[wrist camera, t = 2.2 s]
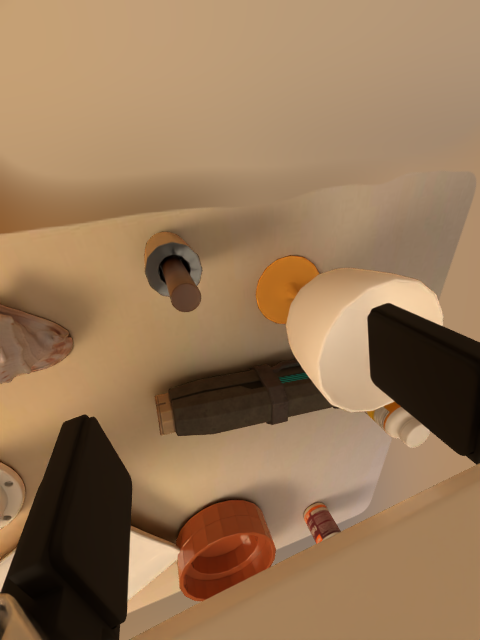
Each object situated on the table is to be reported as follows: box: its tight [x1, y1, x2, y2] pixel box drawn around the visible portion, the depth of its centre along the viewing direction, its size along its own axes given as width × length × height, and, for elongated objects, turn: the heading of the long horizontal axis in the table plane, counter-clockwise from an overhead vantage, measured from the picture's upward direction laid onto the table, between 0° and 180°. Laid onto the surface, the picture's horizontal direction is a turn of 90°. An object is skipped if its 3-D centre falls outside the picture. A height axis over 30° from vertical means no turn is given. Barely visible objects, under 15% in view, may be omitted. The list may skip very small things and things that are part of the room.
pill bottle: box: [304, 503, 341, 544], centre depth 54 cm, size 5×5×8 cm
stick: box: [161, 255, 201, 312], centre depth 25 cm, size 2×2×16 cm
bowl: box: [176, 500, 276, 601], centre depth 49 cm, size 15×15×6 cm
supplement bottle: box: [364, 402, 430, 448], centre depth 46 cm, size 5×5×10 cm
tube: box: [155, 359, 341, 436], centre depth 39 cm, size 11×7×30 cm
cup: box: [256, 255, 444, 412], centre depth 31 cm, size 12×12×17 cm
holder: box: [144, 231, 202, 297], centre depth 29 cm, size 4×4×9 cm
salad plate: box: [0, 526, 180, 601], centre depth 42 cm, size 21×21×3 cm
